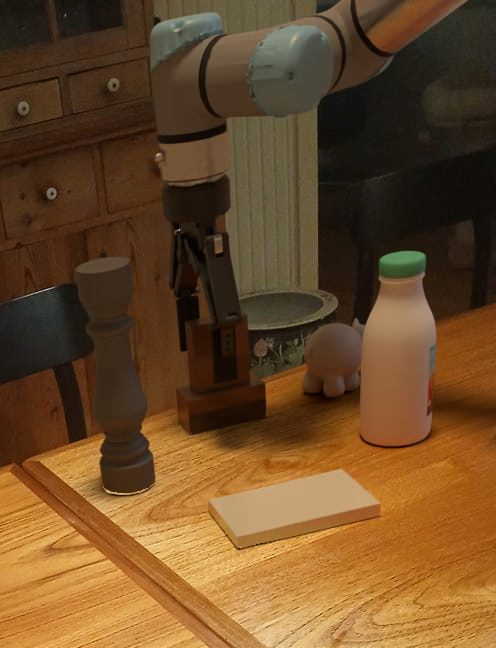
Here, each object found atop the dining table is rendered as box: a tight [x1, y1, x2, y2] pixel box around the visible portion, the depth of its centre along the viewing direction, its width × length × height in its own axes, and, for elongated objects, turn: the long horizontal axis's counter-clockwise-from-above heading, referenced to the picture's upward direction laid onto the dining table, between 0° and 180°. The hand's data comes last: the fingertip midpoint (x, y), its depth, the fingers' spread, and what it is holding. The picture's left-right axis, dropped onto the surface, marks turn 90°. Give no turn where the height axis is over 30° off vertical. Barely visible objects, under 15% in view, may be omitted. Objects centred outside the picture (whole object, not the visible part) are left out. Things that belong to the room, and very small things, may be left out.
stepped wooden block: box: [175, 309, 268, 435], centre depth 122 cm, size 10×5×13 cm, turn 99°
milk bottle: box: [359, 250, 437, 447], centre depth 108 cm, size 8×8×20 cm
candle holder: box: [74, 256, 156, 493], centre depth 108 cm, size 6×6×25 cm
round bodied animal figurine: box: [301, 317, 366, 398], centre depth 126 cm, size 7×12×8 cm, turn 121°
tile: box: [207, 468, 382, 549], centre depth 102 cm, size 15×9×2 cm, turn 99°
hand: (207, 364), depth 121 cm, fingers open, 13 cm apart
